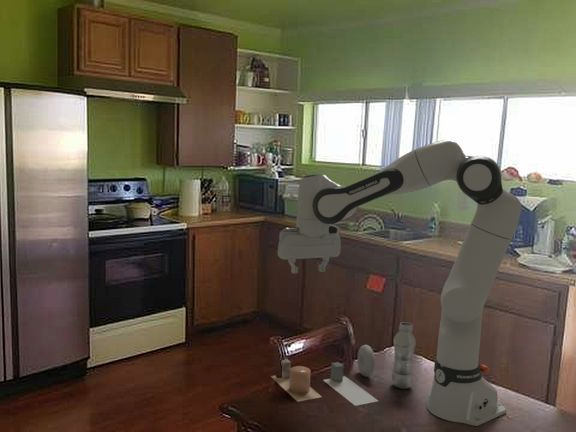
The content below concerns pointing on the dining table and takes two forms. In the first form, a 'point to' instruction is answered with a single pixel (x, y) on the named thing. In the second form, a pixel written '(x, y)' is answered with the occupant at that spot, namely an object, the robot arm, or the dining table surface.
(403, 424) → the dining table surface
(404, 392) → the dining table surface
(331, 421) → the dining table surface
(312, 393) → the oak strip
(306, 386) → the terracotta cylinder
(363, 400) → the grey strip
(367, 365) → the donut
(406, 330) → the plastic bottle
